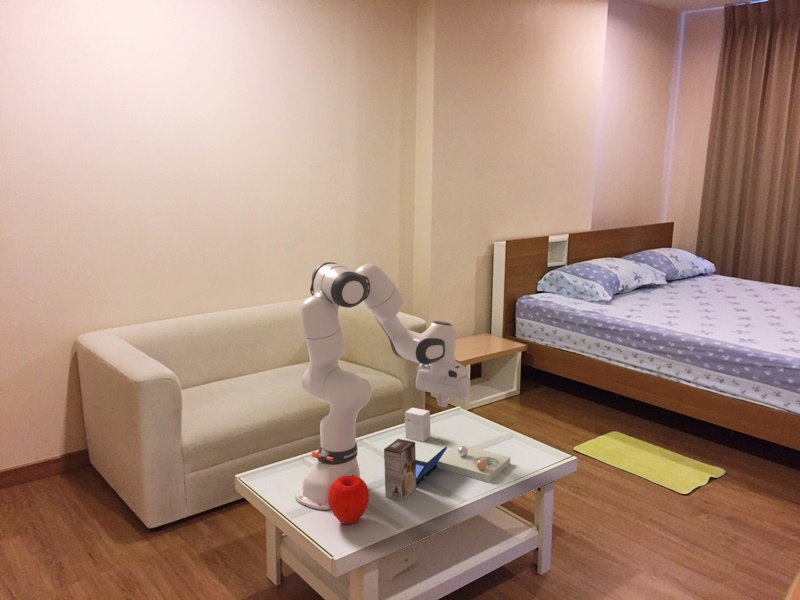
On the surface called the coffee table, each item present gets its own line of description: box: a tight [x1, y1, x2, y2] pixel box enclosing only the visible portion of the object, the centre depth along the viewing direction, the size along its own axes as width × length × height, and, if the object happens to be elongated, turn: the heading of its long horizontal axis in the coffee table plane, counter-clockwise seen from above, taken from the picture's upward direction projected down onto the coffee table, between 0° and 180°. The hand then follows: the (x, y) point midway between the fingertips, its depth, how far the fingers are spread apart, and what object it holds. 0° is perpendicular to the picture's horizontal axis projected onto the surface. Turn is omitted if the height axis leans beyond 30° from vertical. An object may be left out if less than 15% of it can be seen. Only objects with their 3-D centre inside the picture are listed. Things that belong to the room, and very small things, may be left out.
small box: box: [404, 407, 431, 442], centre depth 242 cm, size 8×6×10 cm
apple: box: [328, 476, 370, 525], centre depth 183 cm, size 12×12×13 cm
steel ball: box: [458, 445, 468, 457], centre depth 220 cm, size 4×4×4 cm
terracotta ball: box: [476, 459, 487, 470], centre depth 210 cm, size 4×4×4 cm
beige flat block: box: [436, 443, 511, 483], centre depth 218 cm, size 16×20×2 cm
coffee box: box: [383, 438, 417, 502], centre depth 199 cm, size 9×6×16 cm
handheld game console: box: [416, 446, 448, 487], centre depth 211 cm, size 16×13×9 cm
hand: (442, 406), depth 221 cm, fingers closed
